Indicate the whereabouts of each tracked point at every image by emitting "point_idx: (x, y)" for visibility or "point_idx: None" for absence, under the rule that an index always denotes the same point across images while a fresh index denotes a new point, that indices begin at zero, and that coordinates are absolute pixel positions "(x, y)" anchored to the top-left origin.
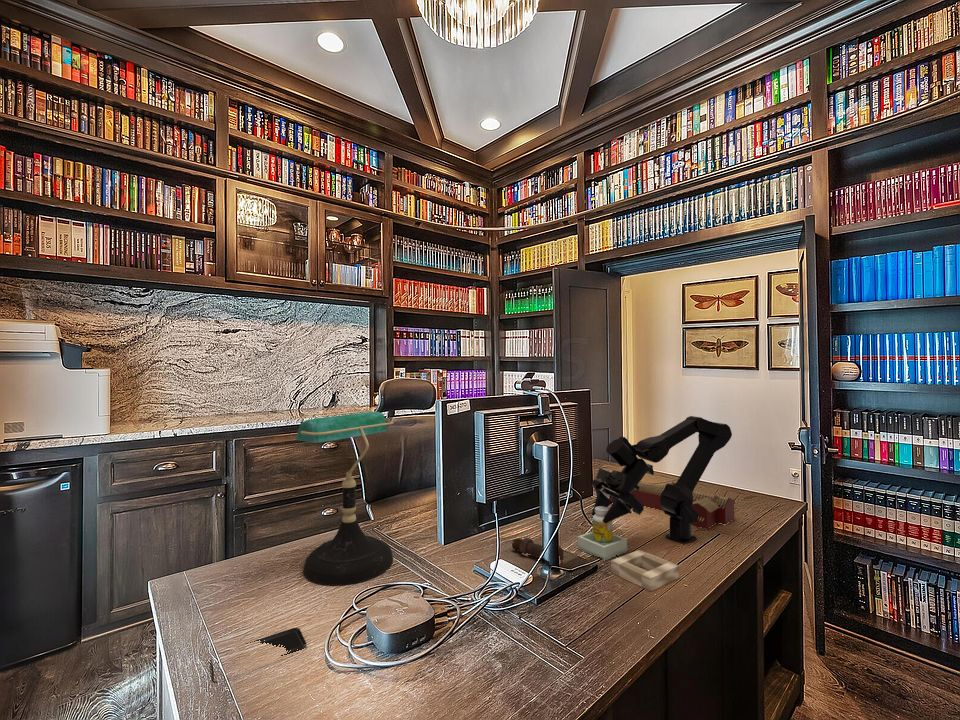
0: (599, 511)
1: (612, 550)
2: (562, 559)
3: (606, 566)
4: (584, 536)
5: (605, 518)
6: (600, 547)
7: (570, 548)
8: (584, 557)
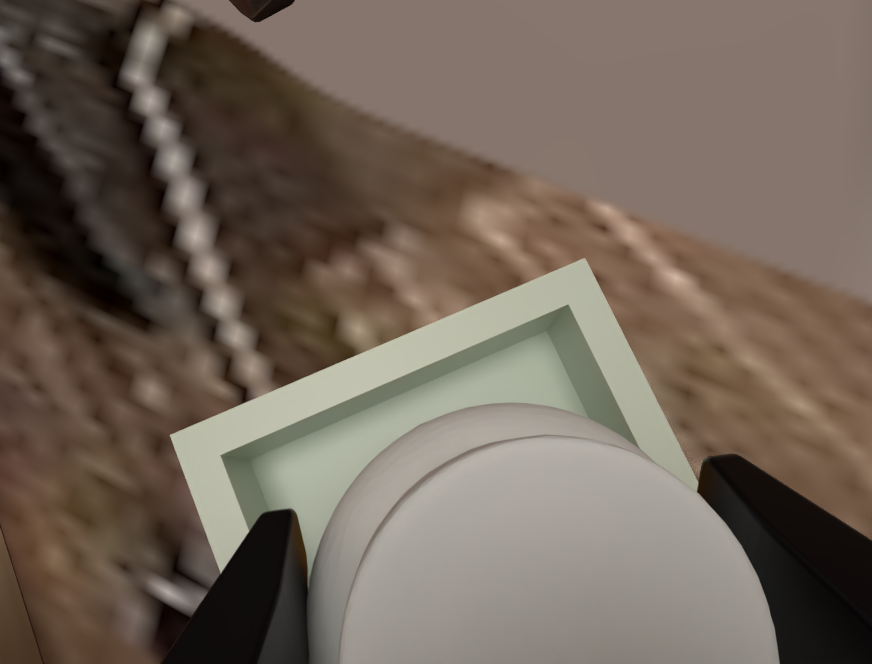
0: (411, 497)
1: None
2: (244, 5)
3: (93, 406)
4: (588, 352)
5: (227, 567)
6: (233, 411)
7: (572, 227)
8: (339, 279)
